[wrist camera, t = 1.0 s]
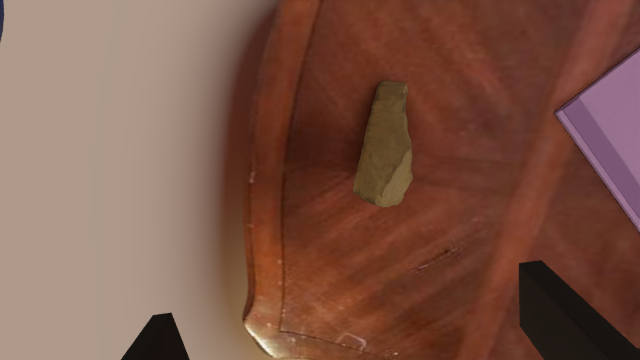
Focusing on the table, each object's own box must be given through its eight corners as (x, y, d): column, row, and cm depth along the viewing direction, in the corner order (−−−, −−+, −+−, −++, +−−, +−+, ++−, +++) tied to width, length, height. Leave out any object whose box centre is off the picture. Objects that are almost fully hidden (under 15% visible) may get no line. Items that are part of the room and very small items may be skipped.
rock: (363, 50, 28) (302, 155, 29) (449, 75, 22) (366, 205, 23) (423, 106, 36) (372, 187, 37) (499, 136, 30) (434, 232, 31)
